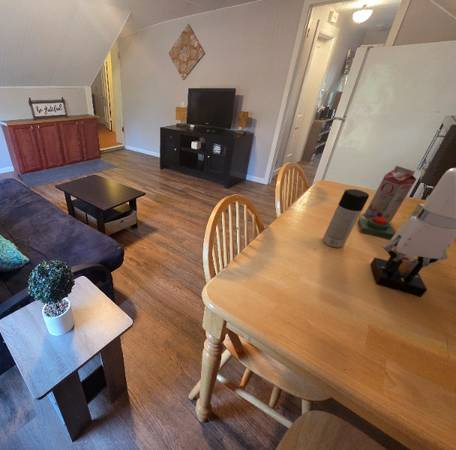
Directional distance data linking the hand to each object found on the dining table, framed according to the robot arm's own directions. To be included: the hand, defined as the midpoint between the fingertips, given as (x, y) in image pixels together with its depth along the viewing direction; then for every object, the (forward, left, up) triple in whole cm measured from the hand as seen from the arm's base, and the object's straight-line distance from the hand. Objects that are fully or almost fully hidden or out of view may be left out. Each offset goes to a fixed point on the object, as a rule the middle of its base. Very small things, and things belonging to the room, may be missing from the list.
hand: (399, 270), depth 71 cm
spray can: (+15, -13, -4) cm, 20 cm away
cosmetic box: (-12, -34, -4) cm, 36 cm away
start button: (0, -31, 0) cm, 31 cm away
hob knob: (0, 0, 0) cm, 0 cm away
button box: (0, -31, -3) cm, 31 cm away
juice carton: (-3, -44, -4) cm, 44 cm away
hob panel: (0, 0, -3) cm, 3 cm away
